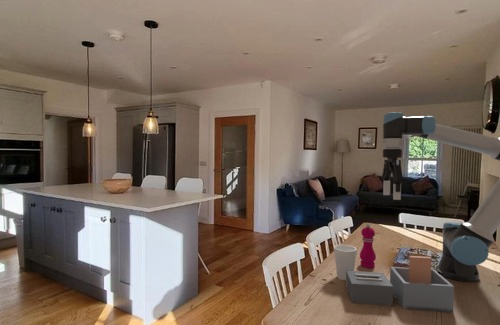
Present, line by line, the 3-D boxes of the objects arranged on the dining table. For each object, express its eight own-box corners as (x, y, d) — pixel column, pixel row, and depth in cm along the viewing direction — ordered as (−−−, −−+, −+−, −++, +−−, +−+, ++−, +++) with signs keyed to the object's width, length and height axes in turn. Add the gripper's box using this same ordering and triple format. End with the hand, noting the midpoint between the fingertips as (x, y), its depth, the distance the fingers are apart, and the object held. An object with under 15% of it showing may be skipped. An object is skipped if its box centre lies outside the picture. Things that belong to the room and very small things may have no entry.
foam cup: (338, 271, 137) (339, 243, 136) (359, 276, 131) (359, 247, 130) (330, 278, 129) (330, 248, 129) (351, 284, 123) (351, 253, 123)
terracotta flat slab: (428, 296, 111) (429, 256, 110) (430, 299, 109) (431, 258, 109) (408, 295, 112) (409, 255, 111) (409, 297, 110) (410, 257, 110)
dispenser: (382, 290, 118) (383, 271, 118) (392, 305, 106) (393, 284, 106) (346, 287, 120) (346, 269, 120) (351, 302, 108) (351, 282, 108)
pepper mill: (377, 269, 140) (377, 226, 139) (360, 267, 141) (361, 225, 140) (374, 263, 147) (374, 222, 146) (358, 262, 148) (359, 222, 147)
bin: (433, 292, 117) (434, 269, 116) (453, 312, 102) (454, 286, 102) (389, 289, 119) (390, 266, 119) (403, 308, 104) (403, 283, 104)
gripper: (375, 148, 143) (374, 193, 144) (392, 148, 118) (391, 201, 119) (392, 148, 142) (391, 193, 143) (413, 148, 117) (411, 202, 118)
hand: (391, 197), depth 131 cm, fingers open, 13 cm apart
